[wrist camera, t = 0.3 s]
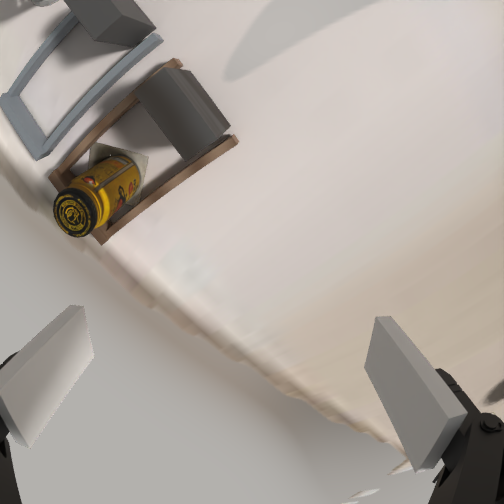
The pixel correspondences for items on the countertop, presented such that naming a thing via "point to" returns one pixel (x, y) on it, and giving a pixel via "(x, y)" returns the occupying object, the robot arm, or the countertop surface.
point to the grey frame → (110, 31)
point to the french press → (43, 2)
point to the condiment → (100, 189)
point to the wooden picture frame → (173, 126)
